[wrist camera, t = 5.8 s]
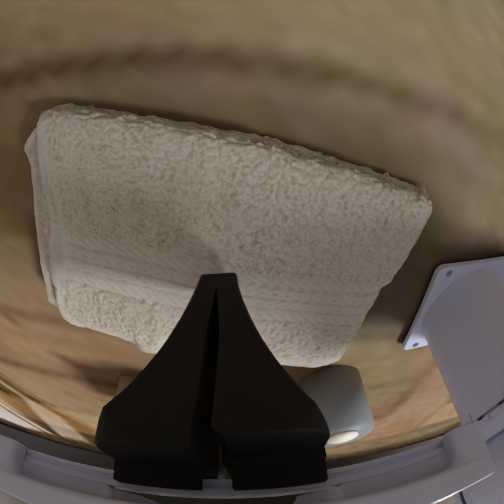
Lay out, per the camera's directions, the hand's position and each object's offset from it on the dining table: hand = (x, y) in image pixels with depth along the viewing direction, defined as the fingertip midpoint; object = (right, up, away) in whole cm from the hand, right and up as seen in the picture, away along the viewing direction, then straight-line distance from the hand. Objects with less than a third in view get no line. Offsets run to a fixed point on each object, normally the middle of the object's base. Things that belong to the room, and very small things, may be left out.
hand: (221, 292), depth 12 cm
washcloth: (0, +2, +3) cm, 4 cm away
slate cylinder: (+7, -9, +11) cm, 16 cm away
